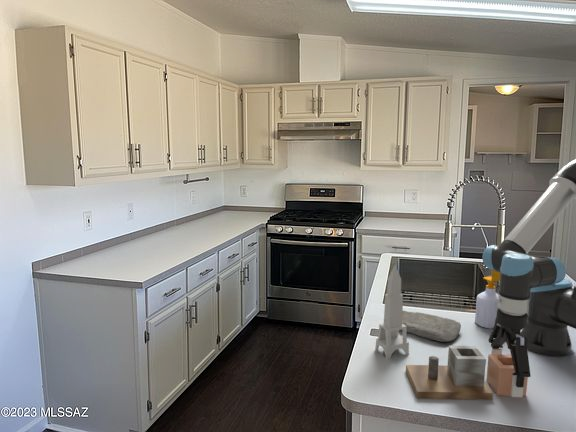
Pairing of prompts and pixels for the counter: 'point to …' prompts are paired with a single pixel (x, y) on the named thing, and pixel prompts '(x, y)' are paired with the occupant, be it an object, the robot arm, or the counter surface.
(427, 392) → the pin board
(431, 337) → the stone
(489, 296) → the spray bottle
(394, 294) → the sculpture
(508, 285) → the robot arm
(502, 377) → the orange hollow cube
